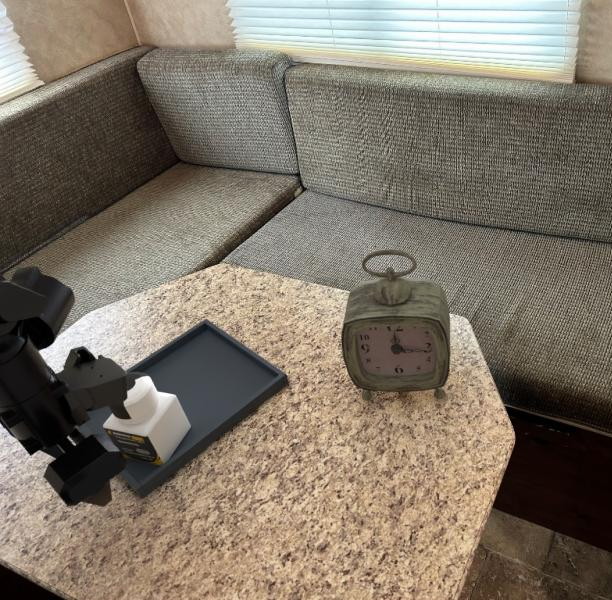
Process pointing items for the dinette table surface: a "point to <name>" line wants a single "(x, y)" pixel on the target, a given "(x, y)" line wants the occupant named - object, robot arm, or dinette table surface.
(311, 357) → the dinette table surface
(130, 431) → the medicine bottle
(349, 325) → the tabletop clock
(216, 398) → the tray
